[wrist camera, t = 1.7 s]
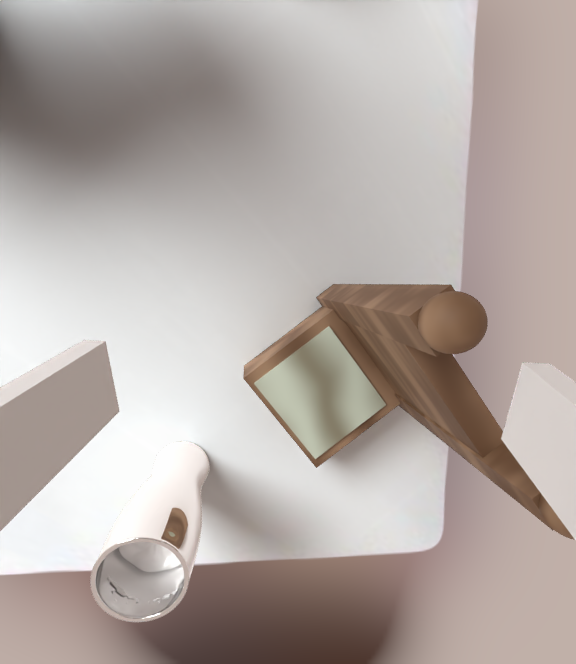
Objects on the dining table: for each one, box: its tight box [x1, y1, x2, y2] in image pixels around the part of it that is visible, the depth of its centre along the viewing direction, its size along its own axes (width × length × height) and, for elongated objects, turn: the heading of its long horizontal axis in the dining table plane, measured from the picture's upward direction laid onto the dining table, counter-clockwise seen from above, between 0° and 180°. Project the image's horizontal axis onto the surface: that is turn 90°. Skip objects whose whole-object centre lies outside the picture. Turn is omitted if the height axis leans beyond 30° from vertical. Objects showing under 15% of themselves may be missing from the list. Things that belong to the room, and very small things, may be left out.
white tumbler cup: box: [90, 441, 210, 622], centre depth 31 cm, size 7×7×15 cm
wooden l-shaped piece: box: [244, 284, 575, 540], centre depth 27 cm, size 13×15×24 cm
